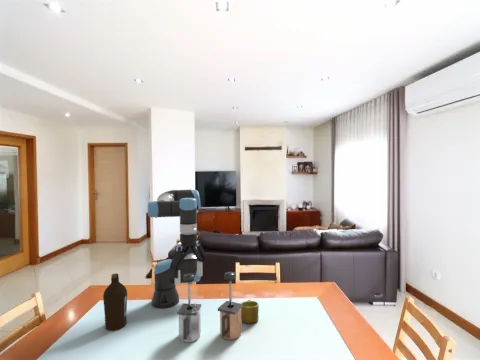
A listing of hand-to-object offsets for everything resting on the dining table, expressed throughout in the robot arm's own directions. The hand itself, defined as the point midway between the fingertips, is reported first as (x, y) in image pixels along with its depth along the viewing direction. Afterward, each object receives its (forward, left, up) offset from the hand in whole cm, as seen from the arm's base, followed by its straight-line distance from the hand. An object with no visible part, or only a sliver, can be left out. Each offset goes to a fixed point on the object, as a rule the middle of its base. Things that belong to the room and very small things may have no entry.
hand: (189, 280), depth 129 cm
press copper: (+14, +11, -26) cm, 31 cm away
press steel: (0, -1, -26) cm, 26 cm away
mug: (+13, +29, -26) cm, 41 cm away
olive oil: (-36, -14, -26) cm, 47 cm away
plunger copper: (+14, +12, -16) cm, 24 cm away
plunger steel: (0, 0, -16) cm, 16 cm away
